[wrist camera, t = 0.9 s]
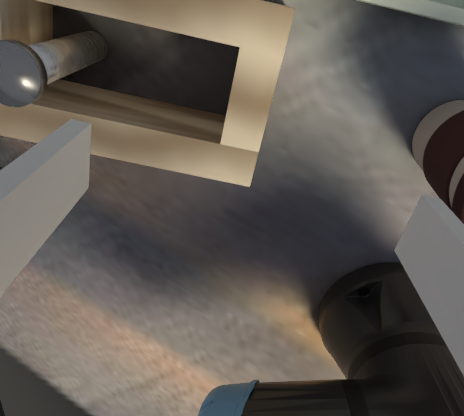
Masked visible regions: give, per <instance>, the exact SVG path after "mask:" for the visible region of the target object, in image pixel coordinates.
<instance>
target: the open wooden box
mask: <svg viewBox="0 0 464 416" xmlns="http://www.w3.org/2000/svg"><path fill="white" fill-rule="evenodd" d="M53 5H58V6H62V7H66V8H71V9H75V10H79V11H84V12H88V13H92V14H97V15H101V16H106V17H110V18H114V19H119V20H123V21H127V22H132V23H136V24H140V25H145V26H149V27H154V28H158V29H162V30H167V31H171V32H175V33H180V34H184V35H188V36H193V37H197V38H201V39H206V40H210V41H215V42H219V43H223V44H228V45H232V46H236V47H240V48H239V53H238V58H237V63H236V68H235V73H234V78H233V83H232V88H231V92H230V97H229V102H228V107H227V112H226V116H225V115H221V114H216V113H212V112H207V111H203V110H198V109H193V108H189V107H184V106H180V105H175V104H170V103H166V102H161V101H157V100H152V99H147V98H143V97H138V96H134V95H129V94H124V93H120V92H115V91H111V90H106V89H101V88H97V87H92V86H88V85H83V84H79V83H74V82H69V81H65V80H60V79H58V80H56V81H54V82H52V83H49V84H47V88H46V90H45V92H44V94H43V95H42V96H41V97H40V98H39V99H38V100H36V101H34V102H32V103H30V104H28V105H26V106H23V107H9V106H5V105H3V104H1V103H0V135H1V136H5V137H10V138H15V139H20V140H25V141H30V142H34V143H39V142H40V141H41V140H43V139H44V138H45V137H47V136H48V135H50V134H51V133H52V132H54V131H55V130H56V129H58V128H59V127H61V126H62V125H63V124H65V123H66V122H67V121H69V120H70V119H74V120H78V121H83V122H88V123H91V146H90V154H92V155H97V156H102V157H107V158H112V159H117V160H121V161H126V162H131V163H136V164H141V165H146V166H150V167H155V168H160V169H165V170H170V171H175V172H179V173H184V174H189V175H194V176H199V177H204V178H208V179H213V180H218V181H223V182H228V183H233V184H237V185H242V186H247V187H250V185H251V181H252V177H253V173H254V169H255V165H256V161H257V157H258V153H259V149H260V145H261V142H262V138H263V134H264V130H265V126H266V122H267V118H268V114H269V110H270V106H271V102H272V99H273V95H274V91H275V87H276V83H277V79H278V75H279V71H280V67H281V63H282V59H283V56H284V52H285V48H286V44H287V40H288V36H289V32H290V28H291V24H292V20H293V16H294V13H295V9H294V8H291V7H289V6H286V5H282V4H277V3H273V2H269V1H265V0H0V40H5V39H13V40H17V41H20V42H23V43H25V44H26V45H31V44H35V43H39V42H43V41H48V40H52V39H53Z"/></svg>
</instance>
